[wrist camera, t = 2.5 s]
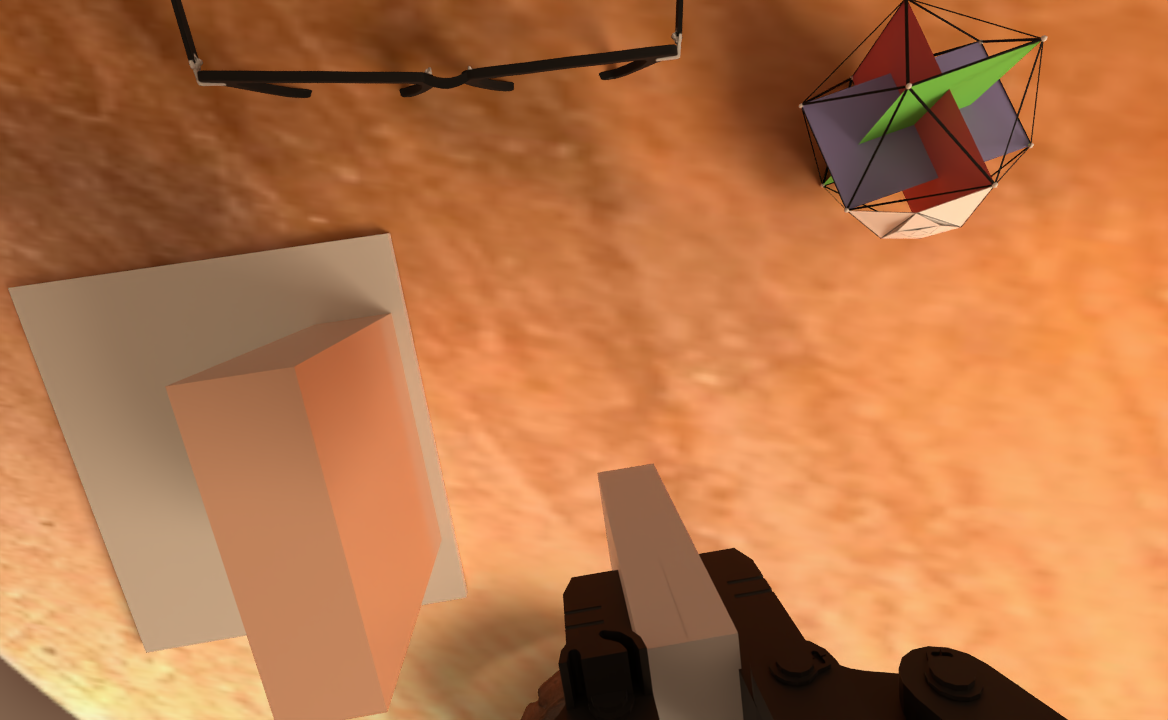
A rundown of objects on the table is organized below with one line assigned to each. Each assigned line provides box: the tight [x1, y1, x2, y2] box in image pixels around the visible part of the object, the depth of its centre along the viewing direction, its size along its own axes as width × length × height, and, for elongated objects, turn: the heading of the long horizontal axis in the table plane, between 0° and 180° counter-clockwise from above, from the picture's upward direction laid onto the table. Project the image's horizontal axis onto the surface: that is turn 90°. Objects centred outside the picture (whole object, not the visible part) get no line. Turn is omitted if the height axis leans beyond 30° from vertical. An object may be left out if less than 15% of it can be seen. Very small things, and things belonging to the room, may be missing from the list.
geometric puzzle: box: [799, 0, 1047, 238], centre depth 19 cm, size 7×7×8 cm
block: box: [165, 313, 442, 720], centre depth 19 cm, size 10×3×9 cm, turn 8°
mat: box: [8, 233, 467, 653], centre depth 23 cm, size 16×14×1 cm
